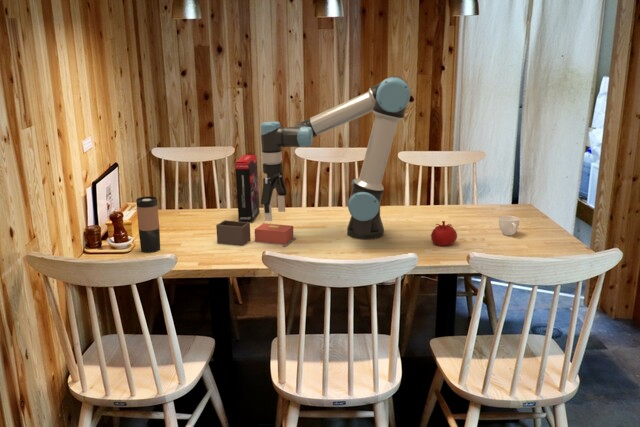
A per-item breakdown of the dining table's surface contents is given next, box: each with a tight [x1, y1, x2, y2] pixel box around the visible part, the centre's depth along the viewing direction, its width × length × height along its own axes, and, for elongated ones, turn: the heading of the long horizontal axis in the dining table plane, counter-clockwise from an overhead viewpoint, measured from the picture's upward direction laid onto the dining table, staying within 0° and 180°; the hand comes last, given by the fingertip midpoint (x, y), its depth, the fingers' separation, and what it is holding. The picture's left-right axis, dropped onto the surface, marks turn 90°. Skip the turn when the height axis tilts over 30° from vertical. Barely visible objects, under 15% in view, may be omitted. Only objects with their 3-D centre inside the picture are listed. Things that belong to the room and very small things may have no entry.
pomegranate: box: [430, 220, 458, 247], centre depth 242 cm, size 10×10×9 cm
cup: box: [498, 215, 520, 237], centre depth 253 cm, size 8×10×7 cm
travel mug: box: [135, 195, 161, 254], centre depth 235 cm, size 8×8×20 cm
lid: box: [254, 222, 294, 244], centre depth 247 cm, size 13×9×5 cm
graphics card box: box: [234, 154, 260, 223], centre depth 277 cm, size 17×7×27 cm, turn 175°
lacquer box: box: [215, 219, 251, 247], centre depth 244 cm, size 11×7×8 cm, turn 72°
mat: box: [252, 236, 297, 248], centre depth 247 cm, size 14×11×1 cm
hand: (275, 216), depth 245 cm, fingers open, 13 cm apart
